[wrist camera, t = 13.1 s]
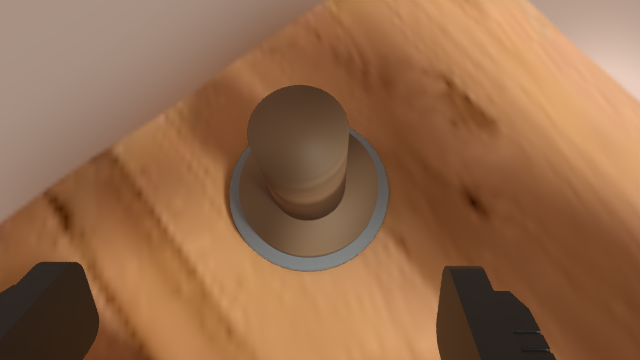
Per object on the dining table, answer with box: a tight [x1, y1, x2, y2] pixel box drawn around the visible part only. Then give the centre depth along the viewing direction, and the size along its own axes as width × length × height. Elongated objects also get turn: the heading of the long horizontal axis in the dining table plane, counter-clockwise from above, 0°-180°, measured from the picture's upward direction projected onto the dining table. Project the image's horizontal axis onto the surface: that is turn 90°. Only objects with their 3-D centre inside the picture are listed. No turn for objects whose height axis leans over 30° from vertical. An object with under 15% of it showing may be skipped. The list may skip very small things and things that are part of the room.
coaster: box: [229, 128, 389, 272], centre depth 25 cm, size 9×9×1 cm
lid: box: [239, 85, 379, 258], centre depth 21 cm, size 8×8×8 cm
